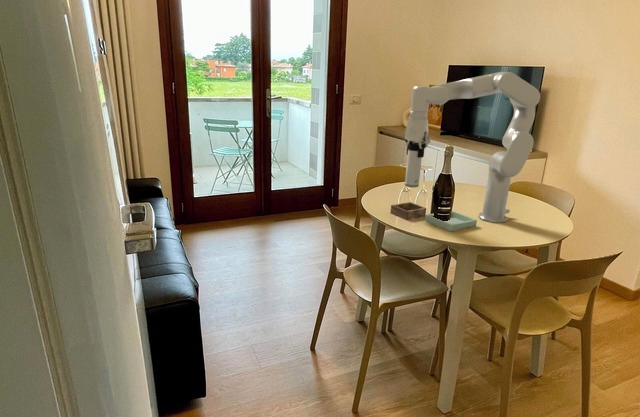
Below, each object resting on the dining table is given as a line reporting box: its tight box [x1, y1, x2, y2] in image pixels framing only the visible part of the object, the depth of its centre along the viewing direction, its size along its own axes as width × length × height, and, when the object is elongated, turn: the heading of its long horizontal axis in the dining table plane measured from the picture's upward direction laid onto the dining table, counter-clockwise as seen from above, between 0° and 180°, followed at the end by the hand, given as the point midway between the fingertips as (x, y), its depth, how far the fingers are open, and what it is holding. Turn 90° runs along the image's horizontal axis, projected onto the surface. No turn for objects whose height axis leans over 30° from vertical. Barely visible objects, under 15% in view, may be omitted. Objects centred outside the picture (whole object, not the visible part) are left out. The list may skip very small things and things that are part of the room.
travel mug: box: [404, 142, 423, 188], centre depth 191 cm, size 6×7×20 cm
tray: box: [425, 210, 478, 233], centre depth 189 cm, size 16×15×3 cm
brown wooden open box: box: [390, 201, 427, 221], centre depth 198 cm, size 12×11×4 cm
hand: (414, 155), depth 190 cm, fingers closed on travel mug, 6 cm apart
